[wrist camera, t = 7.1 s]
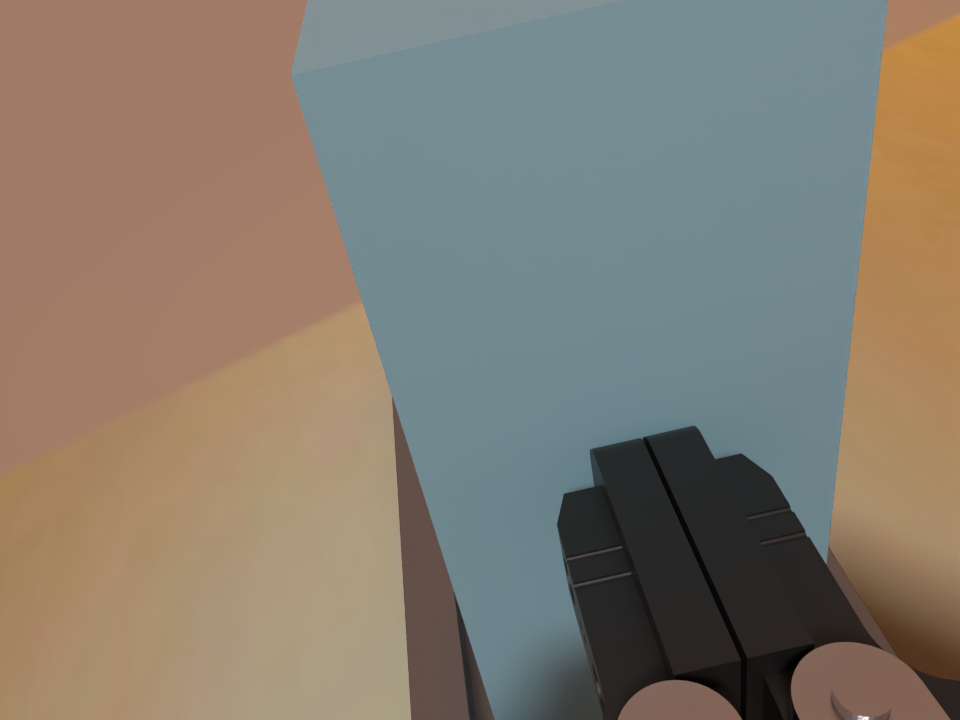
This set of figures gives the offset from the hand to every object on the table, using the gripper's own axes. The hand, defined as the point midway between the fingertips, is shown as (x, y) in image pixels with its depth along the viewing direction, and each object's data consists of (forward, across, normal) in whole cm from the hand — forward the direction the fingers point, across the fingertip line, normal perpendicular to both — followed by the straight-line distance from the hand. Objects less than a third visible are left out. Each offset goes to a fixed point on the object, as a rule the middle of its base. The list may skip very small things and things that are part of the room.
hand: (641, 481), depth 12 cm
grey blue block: (+6, 0, +6) cm, 9 cm away
